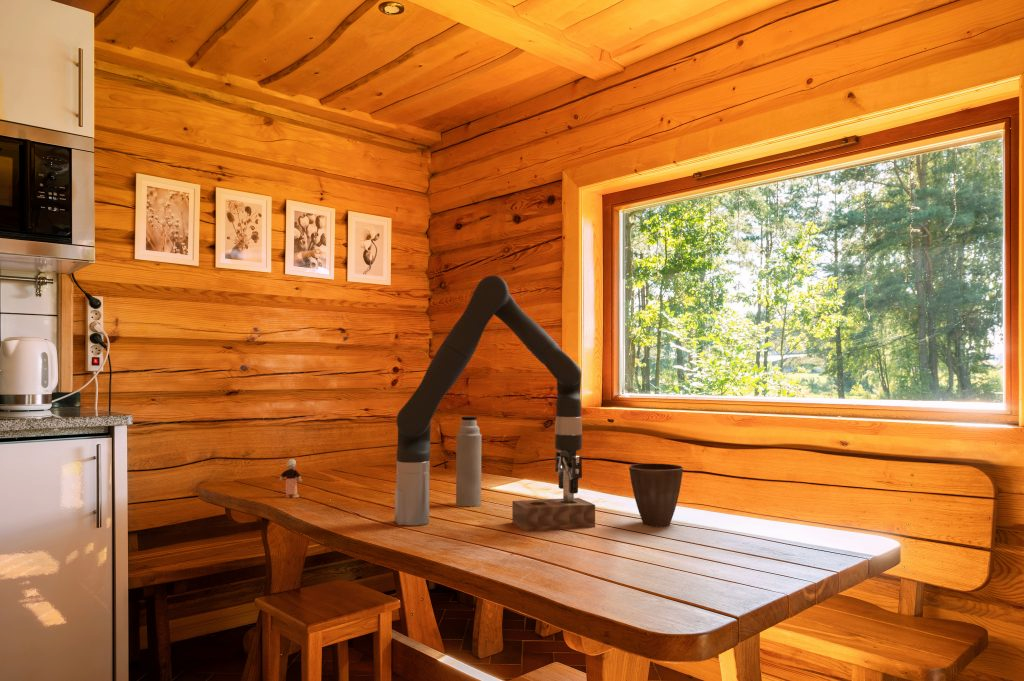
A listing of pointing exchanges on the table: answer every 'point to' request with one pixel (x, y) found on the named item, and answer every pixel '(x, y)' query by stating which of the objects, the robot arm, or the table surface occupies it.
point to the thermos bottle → (468, 463)
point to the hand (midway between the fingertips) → (568, 490)
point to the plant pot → (656, 491)
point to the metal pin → (567, 489)
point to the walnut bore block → (552, 514)
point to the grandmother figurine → (291, 479)
